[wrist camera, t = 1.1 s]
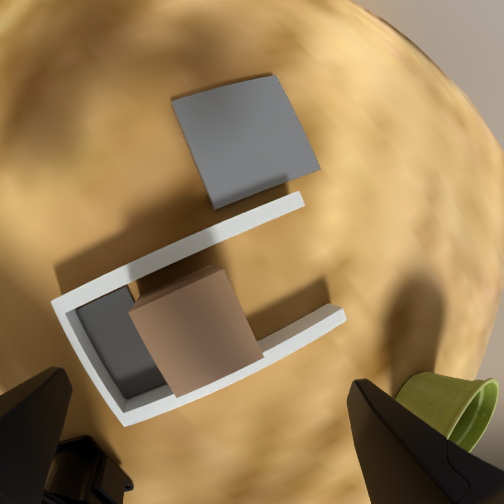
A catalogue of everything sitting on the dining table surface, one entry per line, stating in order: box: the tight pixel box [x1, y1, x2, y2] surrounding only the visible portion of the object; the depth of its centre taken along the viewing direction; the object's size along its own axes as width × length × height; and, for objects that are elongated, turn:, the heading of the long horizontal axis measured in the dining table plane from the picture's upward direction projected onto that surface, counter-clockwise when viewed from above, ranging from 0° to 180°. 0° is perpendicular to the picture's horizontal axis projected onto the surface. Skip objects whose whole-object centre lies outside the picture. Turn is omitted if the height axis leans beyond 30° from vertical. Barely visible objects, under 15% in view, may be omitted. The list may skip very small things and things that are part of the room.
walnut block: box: [128, 264, 264, 398], centre depth 16 cm, size 5×5×5 cm
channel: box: [51, 191, 347, 427], centre depth 17 cm, size 17×9×2 cm, turn 113°
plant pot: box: [395, 371, 499, 453], centre depth 19 cm, size 9×9×9 cm
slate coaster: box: [171, 75, 321, 210], centre depth 18 cm, size 8×8×1 cm
